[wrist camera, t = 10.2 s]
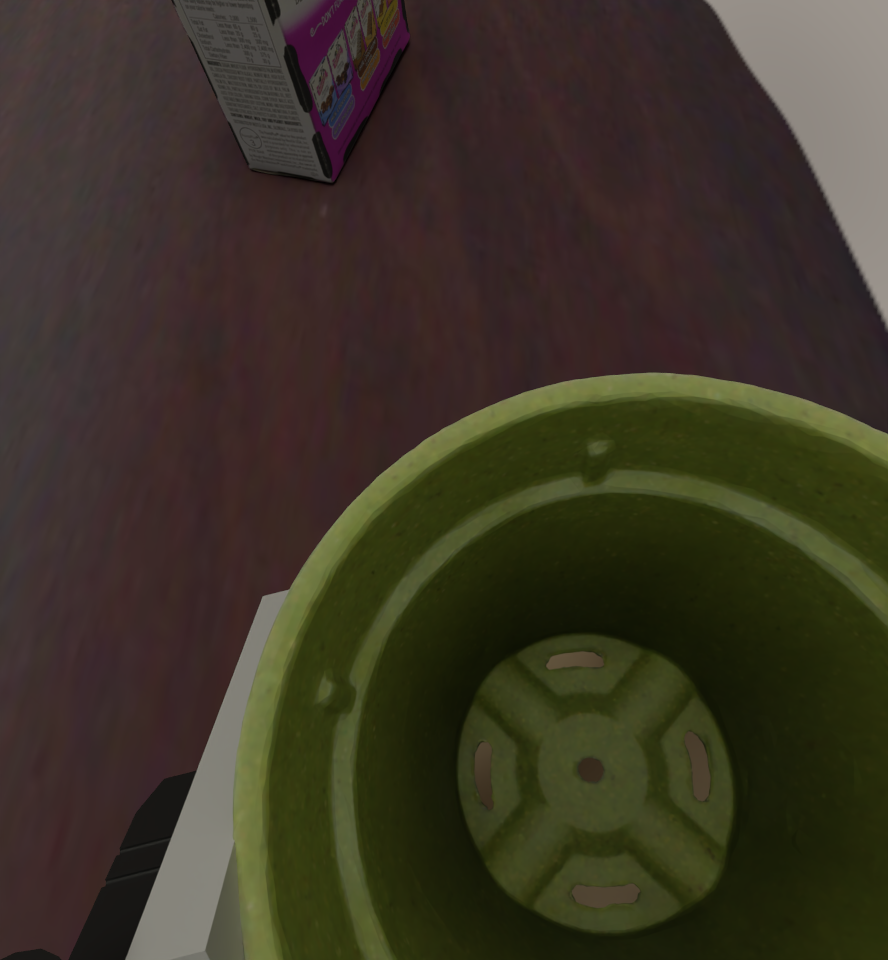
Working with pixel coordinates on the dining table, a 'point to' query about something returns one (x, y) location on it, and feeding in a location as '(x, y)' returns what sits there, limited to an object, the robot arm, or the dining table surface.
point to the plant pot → (584, 691)
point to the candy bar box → (296, 74)
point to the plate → (594, 772)
